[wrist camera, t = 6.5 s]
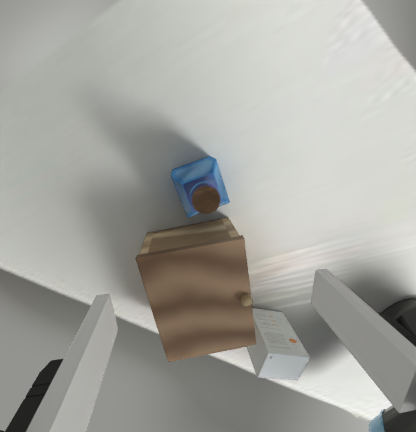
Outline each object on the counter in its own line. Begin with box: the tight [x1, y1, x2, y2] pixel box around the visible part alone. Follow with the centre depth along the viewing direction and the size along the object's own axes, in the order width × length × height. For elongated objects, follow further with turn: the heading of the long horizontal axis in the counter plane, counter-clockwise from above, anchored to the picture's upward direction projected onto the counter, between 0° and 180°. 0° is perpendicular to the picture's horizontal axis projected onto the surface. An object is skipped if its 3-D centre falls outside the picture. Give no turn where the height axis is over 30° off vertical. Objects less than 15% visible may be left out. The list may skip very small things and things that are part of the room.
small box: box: [247, 308, 310, 380], centre depth 41 cm, size 8×6×10 cm
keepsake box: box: [140, 217, 240, 254], centre depth 37 cm, size 18×14×8 cm
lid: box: [136, 235, 257, 362], centre depth 32 cm, size 19×14×2 cm
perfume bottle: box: [171, 156, 230, 218], centre depth 30 cm, size 6×6×12 cm
